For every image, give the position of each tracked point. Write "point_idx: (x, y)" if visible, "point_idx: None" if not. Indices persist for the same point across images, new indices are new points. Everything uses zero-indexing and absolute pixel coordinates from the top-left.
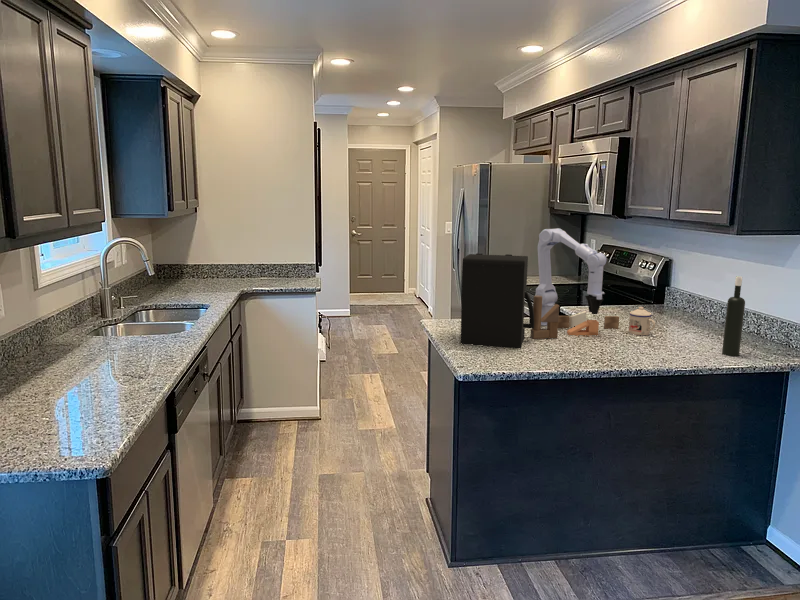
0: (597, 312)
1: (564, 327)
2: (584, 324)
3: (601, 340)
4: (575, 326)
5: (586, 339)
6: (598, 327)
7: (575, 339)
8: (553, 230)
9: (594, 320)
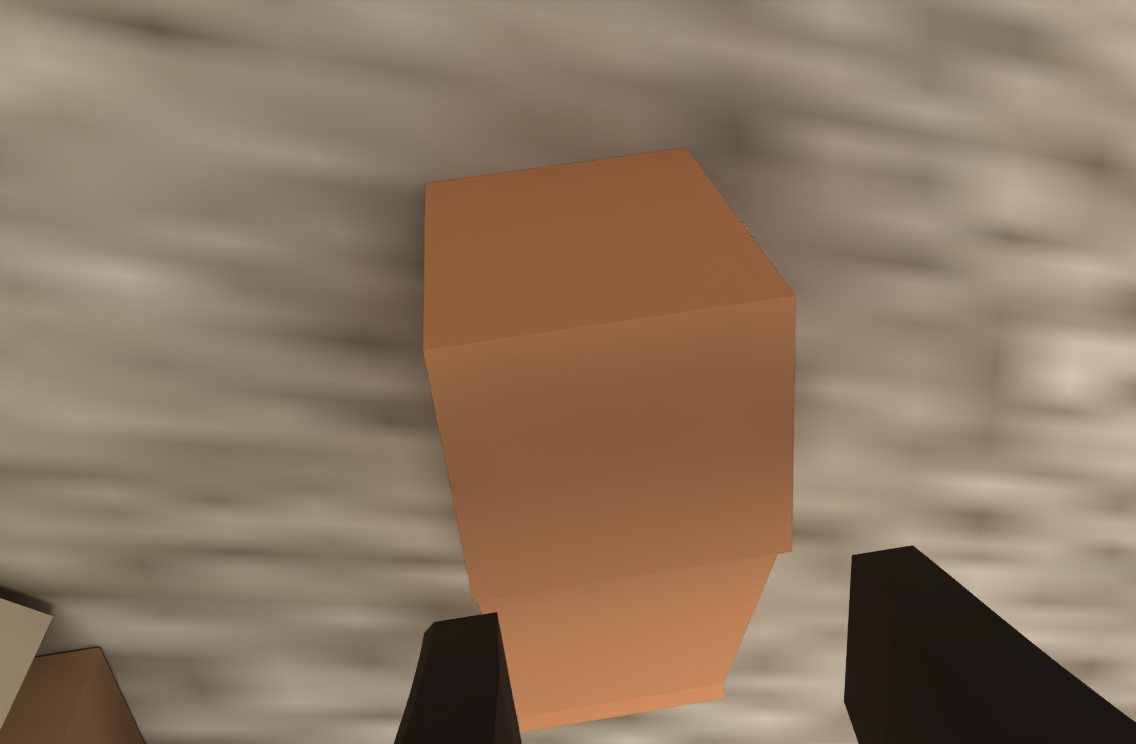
0: (963, 595)
1: (125, 731)
2: (695, 592)
3: (1109, 138)
4: (524, 676)
5: (995, 417)
6: (741, 228)
7: (980, 582)
8: None
9: (523, 398)
